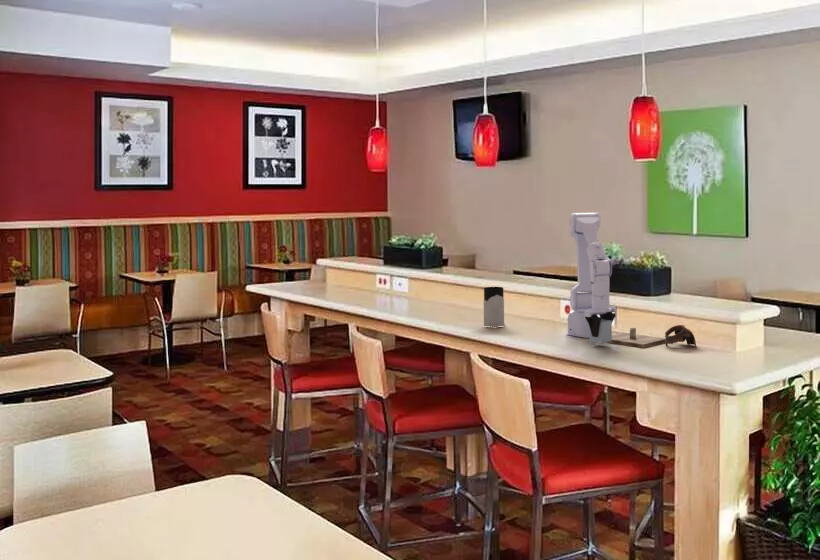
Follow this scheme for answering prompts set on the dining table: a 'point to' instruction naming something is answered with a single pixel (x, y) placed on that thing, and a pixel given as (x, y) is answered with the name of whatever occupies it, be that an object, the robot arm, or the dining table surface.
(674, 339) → the brown curved band
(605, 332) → the sleeve
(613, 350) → the dining table surface
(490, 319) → the glass holder
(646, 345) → the pin plate
